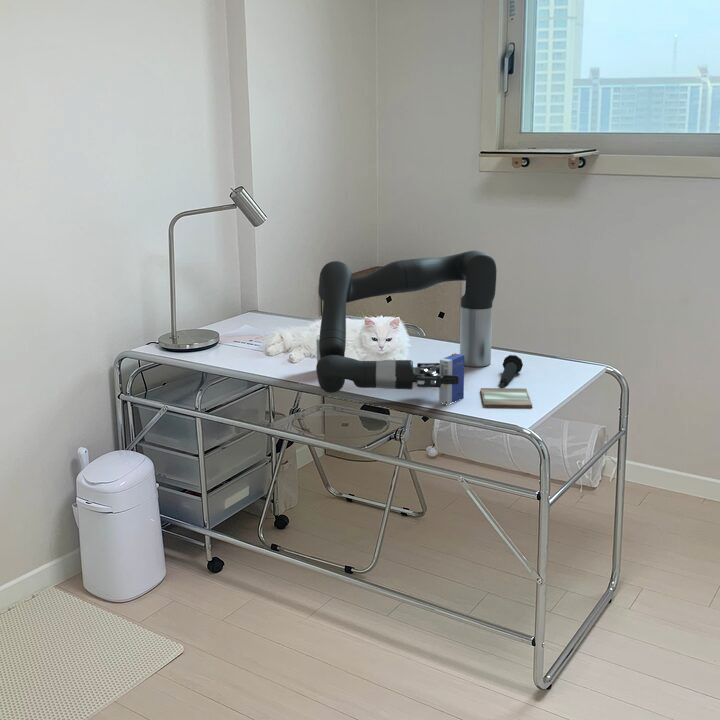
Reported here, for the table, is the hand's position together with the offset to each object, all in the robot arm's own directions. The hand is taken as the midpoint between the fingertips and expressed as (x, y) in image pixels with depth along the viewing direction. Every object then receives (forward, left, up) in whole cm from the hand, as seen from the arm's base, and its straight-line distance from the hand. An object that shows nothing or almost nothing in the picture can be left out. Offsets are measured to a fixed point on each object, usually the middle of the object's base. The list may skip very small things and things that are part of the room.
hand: (457, 375), depth 221 cm
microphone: (-21, +14, -7) cm, 26 cm away
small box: (-26, -36, -7) cm, 45 cm away
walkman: (0, -2, -7) cm, 7 cm away
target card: (-2, +12, -7) cm, 14 cm away
